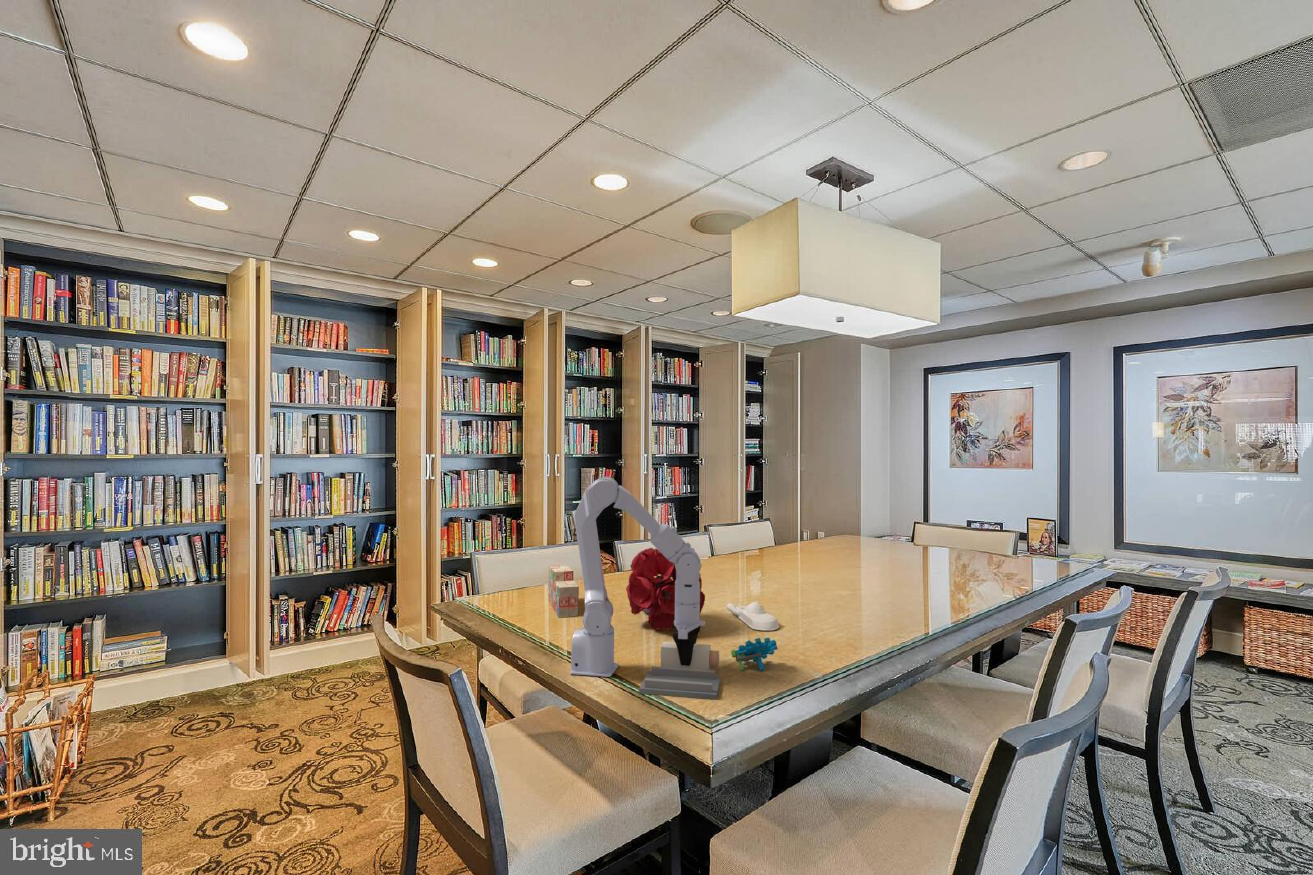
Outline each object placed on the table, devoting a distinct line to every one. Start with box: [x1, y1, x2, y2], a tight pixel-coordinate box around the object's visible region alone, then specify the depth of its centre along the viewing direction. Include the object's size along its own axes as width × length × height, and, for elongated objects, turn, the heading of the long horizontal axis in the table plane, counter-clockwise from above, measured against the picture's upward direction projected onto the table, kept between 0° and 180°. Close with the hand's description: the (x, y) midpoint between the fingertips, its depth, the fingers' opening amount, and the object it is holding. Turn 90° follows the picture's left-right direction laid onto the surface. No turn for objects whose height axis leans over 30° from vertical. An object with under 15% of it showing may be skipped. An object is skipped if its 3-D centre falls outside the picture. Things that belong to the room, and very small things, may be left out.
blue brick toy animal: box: [730, 637, 778, 672], centre depth 138 cm, size 11×6×10 cm
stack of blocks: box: [548, 564, 580, 619], centre depth 191 cm, size 21×6×12 cm, turn 18°
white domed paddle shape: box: [726, 600, 780, 632], centre depth 176 cm, size 10×20×6 cm, turn 14°
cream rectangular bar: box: [660, 641, 720, 670], centre depth 136 cm, size 13×4×5 cm, turn 79°
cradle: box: [638, 665, 721, 700], centre depth 126 cm, size 16×10×2 cm, turn 79°
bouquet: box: [625, 547, 706, 630], centre depth 174 cm, size 22×24×30 cm
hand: (687, 661), depth 136 cm, fingers closed on cream rectangular bar, 4 cm apart
